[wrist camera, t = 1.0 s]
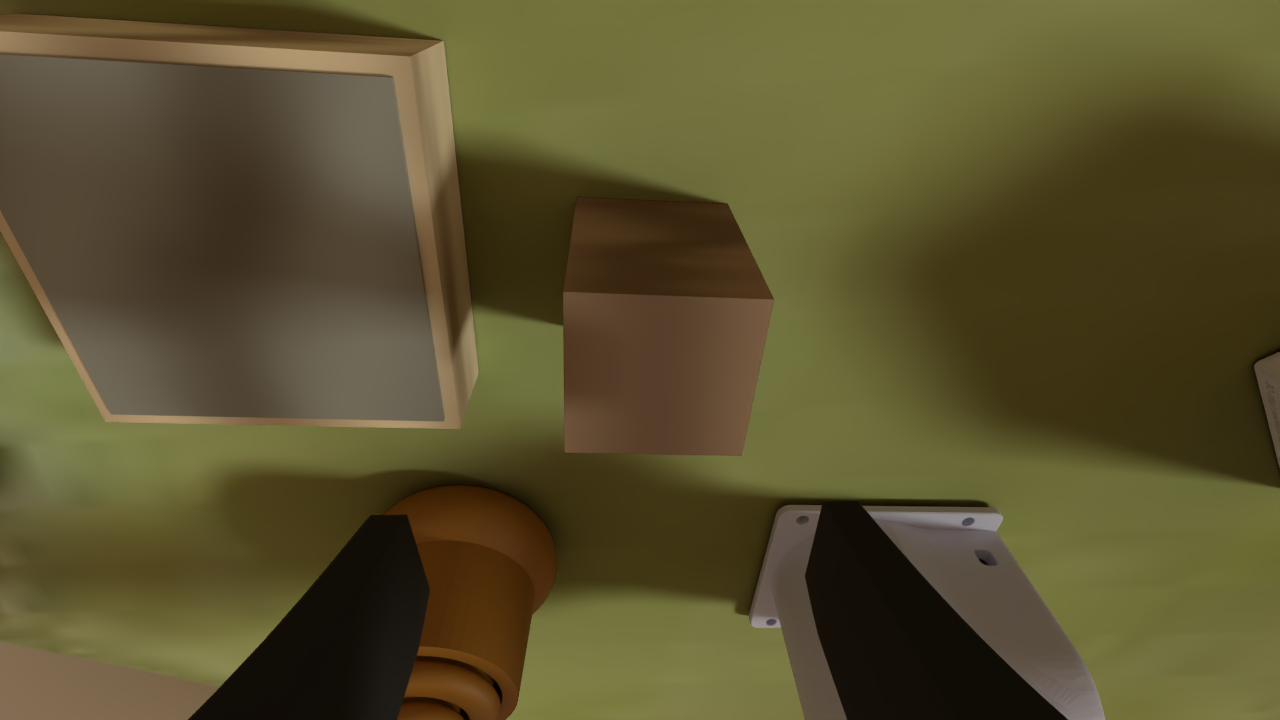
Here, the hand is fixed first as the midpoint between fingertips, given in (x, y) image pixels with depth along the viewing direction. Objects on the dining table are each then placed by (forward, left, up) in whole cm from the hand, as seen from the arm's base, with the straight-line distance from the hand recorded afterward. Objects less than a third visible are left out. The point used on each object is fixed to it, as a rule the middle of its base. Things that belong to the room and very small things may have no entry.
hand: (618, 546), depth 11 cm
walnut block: (-1, -1, -10) cm, 10 cm away
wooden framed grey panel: (+10, -2, -10) cm, 14 cm away
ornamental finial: (+6, +12, -10) cm, 17 cm away
